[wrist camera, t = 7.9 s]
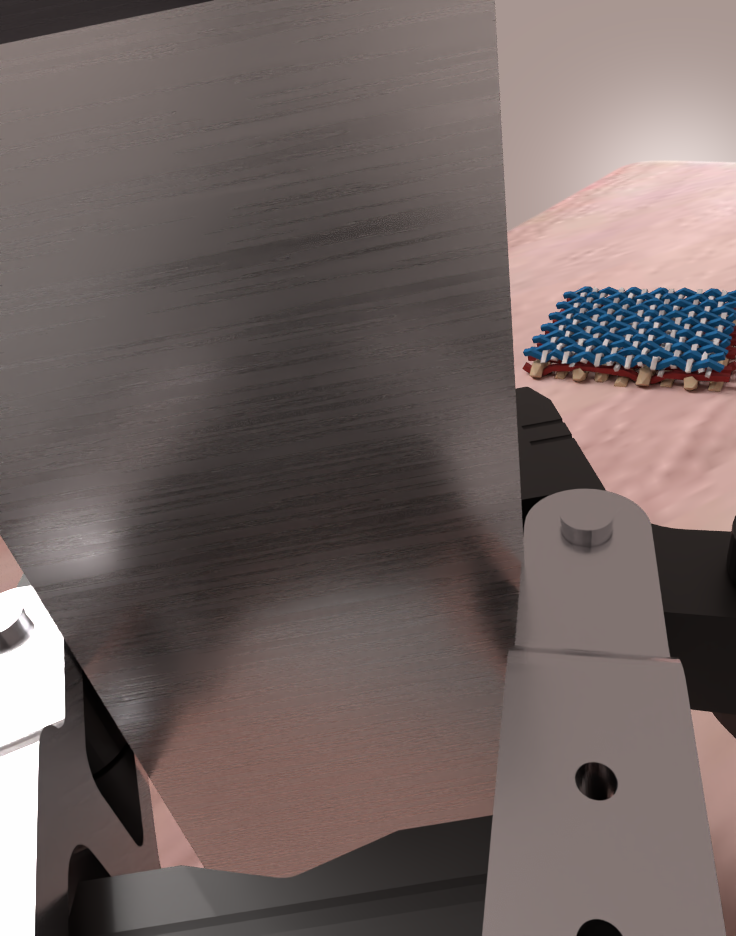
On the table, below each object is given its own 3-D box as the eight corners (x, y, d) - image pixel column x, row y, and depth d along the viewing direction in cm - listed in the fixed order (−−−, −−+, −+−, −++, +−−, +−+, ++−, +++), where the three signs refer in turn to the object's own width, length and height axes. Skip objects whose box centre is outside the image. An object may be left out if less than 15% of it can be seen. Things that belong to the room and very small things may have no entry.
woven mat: (729, 405, 34) (734, 368, 33) (519, 387, 39) (517, 354, 38) (750, 316, 41) (754, 283, 40) (569, 310, 46) (569, 281, 45)
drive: (286, 1002, 12) (-343, -25, 4) (294, 645, 19) (74, -6, 10) (545, 961, 12) (484, -203, 4) (460, 616, 18) (370, -67, 10)
